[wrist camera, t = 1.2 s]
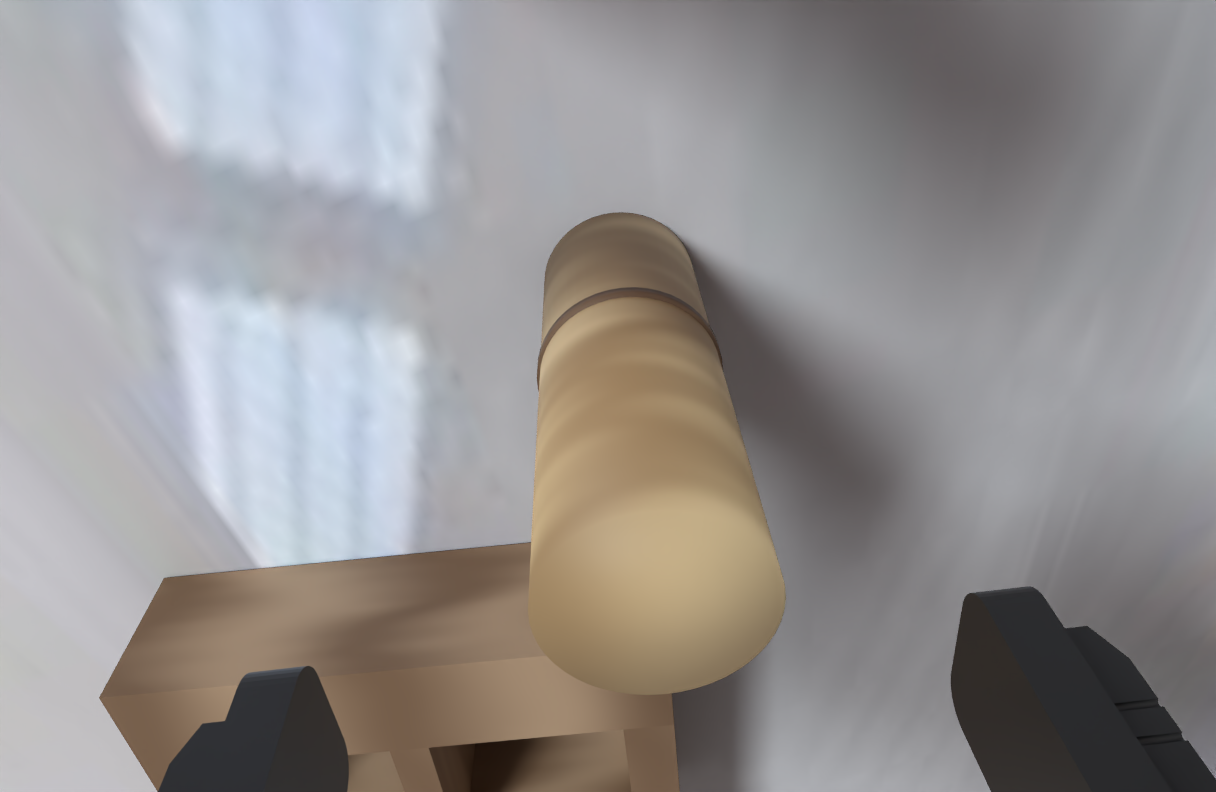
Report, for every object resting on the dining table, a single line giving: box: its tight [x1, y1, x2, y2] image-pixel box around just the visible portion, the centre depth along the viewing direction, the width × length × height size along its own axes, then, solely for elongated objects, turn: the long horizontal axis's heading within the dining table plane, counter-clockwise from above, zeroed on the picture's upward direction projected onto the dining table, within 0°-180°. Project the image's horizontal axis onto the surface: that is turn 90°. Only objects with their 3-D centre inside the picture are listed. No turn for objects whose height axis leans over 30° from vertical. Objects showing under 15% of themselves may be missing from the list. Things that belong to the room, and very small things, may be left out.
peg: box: [528, 212, 786, 695], centre depth 16 cm, size 4×4×10 cm
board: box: [99, 543, 680, 792], centre depth 25 cm, size 14×11×4 cm
